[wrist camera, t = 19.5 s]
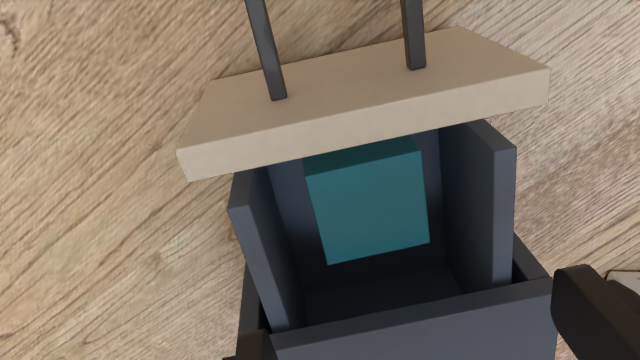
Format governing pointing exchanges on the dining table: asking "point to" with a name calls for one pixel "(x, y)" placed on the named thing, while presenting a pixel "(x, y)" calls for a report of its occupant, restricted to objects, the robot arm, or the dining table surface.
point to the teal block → (368, 198)
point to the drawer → (357, 129)
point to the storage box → (430, 324)
